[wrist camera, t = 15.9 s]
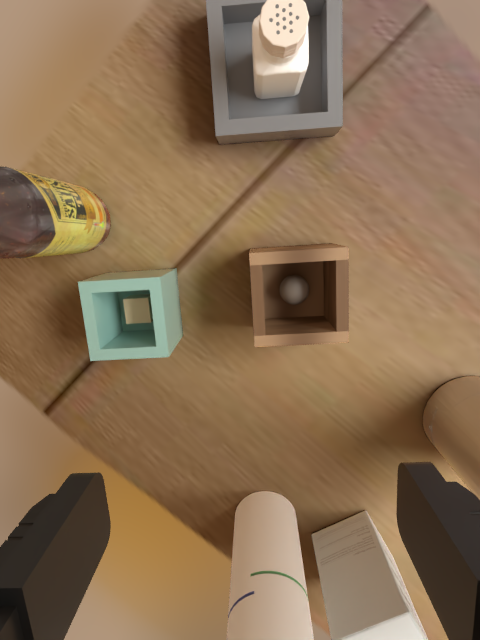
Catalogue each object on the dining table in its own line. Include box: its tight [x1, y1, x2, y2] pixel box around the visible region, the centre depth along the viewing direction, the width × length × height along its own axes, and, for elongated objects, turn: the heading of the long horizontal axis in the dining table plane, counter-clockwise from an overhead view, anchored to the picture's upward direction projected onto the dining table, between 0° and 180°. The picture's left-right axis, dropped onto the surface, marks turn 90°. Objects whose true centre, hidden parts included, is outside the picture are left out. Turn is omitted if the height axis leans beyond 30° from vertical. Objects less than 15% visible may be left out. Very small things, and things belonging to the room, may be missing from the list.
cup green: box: [78, 268, 183, 361], centre depth 37 cm, size 7×7×7 cm
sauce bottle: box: [0, 167, 111, 258], centre depth 29 cm, size 7×6×20 cm
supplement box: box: [312, 510, 428, 640], centre depth 40 cm, size 7×7×13 cm
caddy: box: [206, 0, 343, 145], centre depth 33 cm, size 11×11×4 cm
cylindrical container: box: [227, 491, 314, 640], centre depth 34 cm, size 7×7×25 cm
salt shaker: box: [252, 0, 309, 99], centre depth 30 cm, size 4×4×10 cm
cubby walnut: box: [249, 243, 349, 347], centre depth 36 cm, size 8×8×7 cm
